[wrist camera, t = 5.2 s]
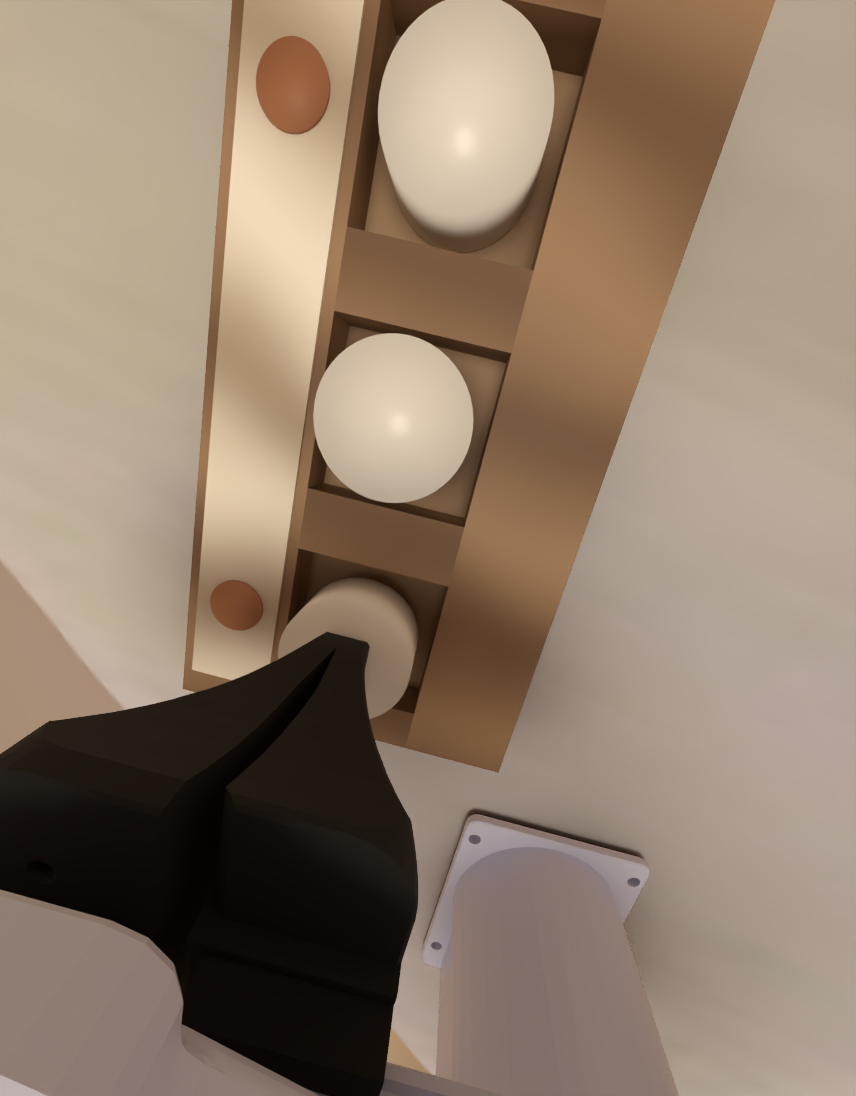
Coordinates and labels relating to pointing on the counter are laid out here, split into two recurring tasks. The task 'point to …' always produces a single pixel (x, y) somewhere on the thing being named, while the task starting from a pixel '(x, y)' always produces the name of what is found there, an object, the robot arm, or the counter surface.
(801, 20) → the counter surface
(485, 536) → the board
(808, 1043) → the counter surface
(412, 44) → the button
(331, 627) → the button
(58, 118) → the counter surface
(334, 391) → the middle button
